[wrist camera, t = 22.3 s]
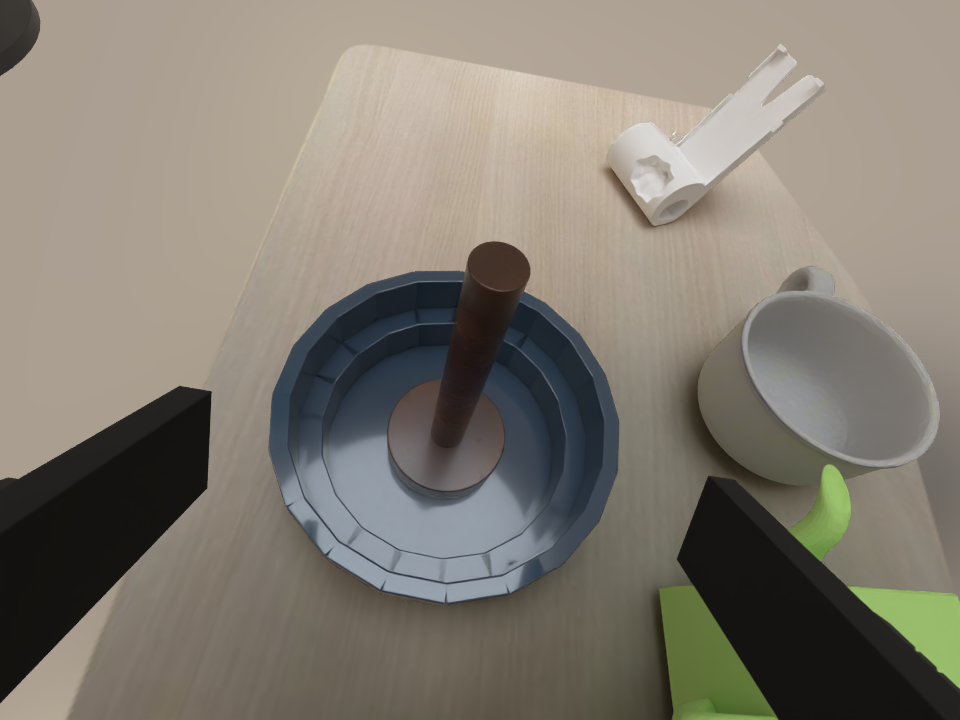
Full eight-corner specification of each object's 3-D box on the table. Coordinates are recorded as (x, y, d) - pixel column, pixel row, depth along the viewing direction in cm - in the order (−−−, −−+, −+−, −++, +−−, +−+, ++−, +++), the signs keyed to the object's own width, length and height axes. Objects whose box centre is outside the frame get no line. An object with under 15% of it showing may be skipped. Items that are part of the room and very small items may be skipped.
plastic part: (600, 168, 42) (663, 28, 32) (685, 153, 45) (768, 21, 35) (642, 229, 39) (727, 95, 29) (731, 209, 42) (835, 82, 32)
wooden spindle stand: (364, 462, 26) (332, 288, 12) (424, 374, 29) (455, 154, 15) (465, 522, 25) (557, 413, 11) (516, 425, 28) (637, 246, 14)
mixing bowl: (226, 499, 24) (181, 469, 19) (399, 287, 32) (400, 225, 27) (504, 671, 23) (537, 689, 18) (613, 404, 31) (658, 362, 26)
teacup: (814, 530, 29) (947, 505, 22) (655, 448, 30) (735, 399, 23) (829, 360, 36) (934, 300, 29) (699, 298, 37) (771, 225, 30)
